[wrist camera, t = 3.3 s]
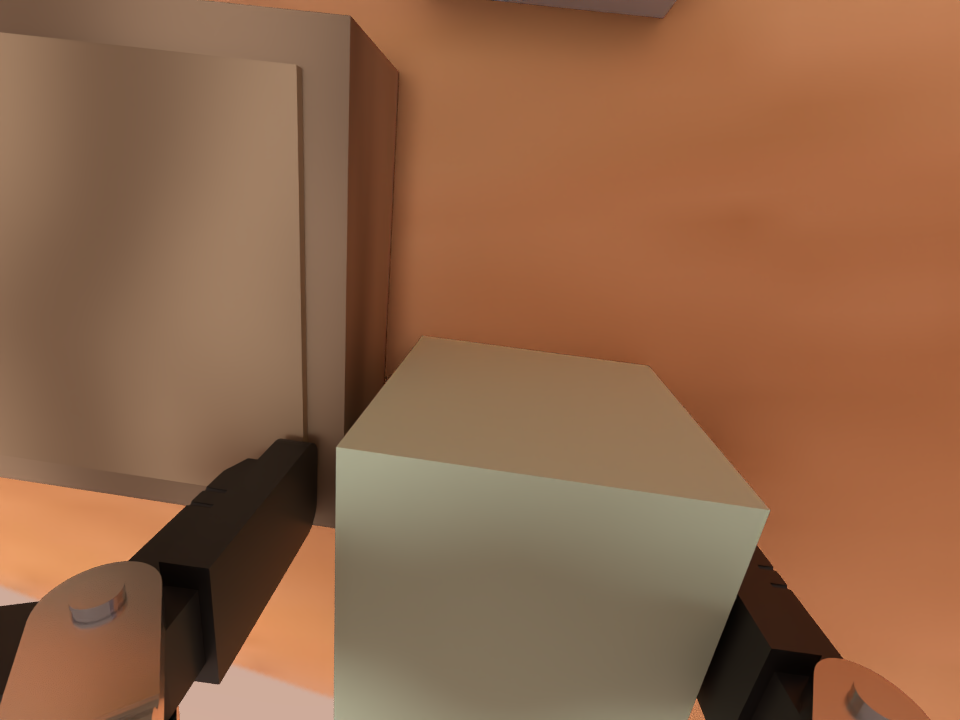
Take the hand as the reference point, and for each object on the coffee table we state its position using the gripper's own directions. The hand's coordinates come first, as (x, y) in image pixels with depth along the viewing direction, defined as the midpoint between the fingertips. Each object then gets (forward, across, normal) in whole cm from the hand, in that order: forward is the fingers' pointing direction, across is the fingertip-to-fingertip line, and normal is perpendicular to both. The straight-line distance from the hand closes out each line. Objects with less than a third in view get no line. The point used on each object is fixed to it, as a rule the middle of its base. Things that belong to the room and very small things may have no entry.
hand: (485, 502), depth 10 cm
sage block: (+3, -1, 0) cm, 3 cm away
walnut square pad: (+3, +8, -4) cm, 9 cm away
